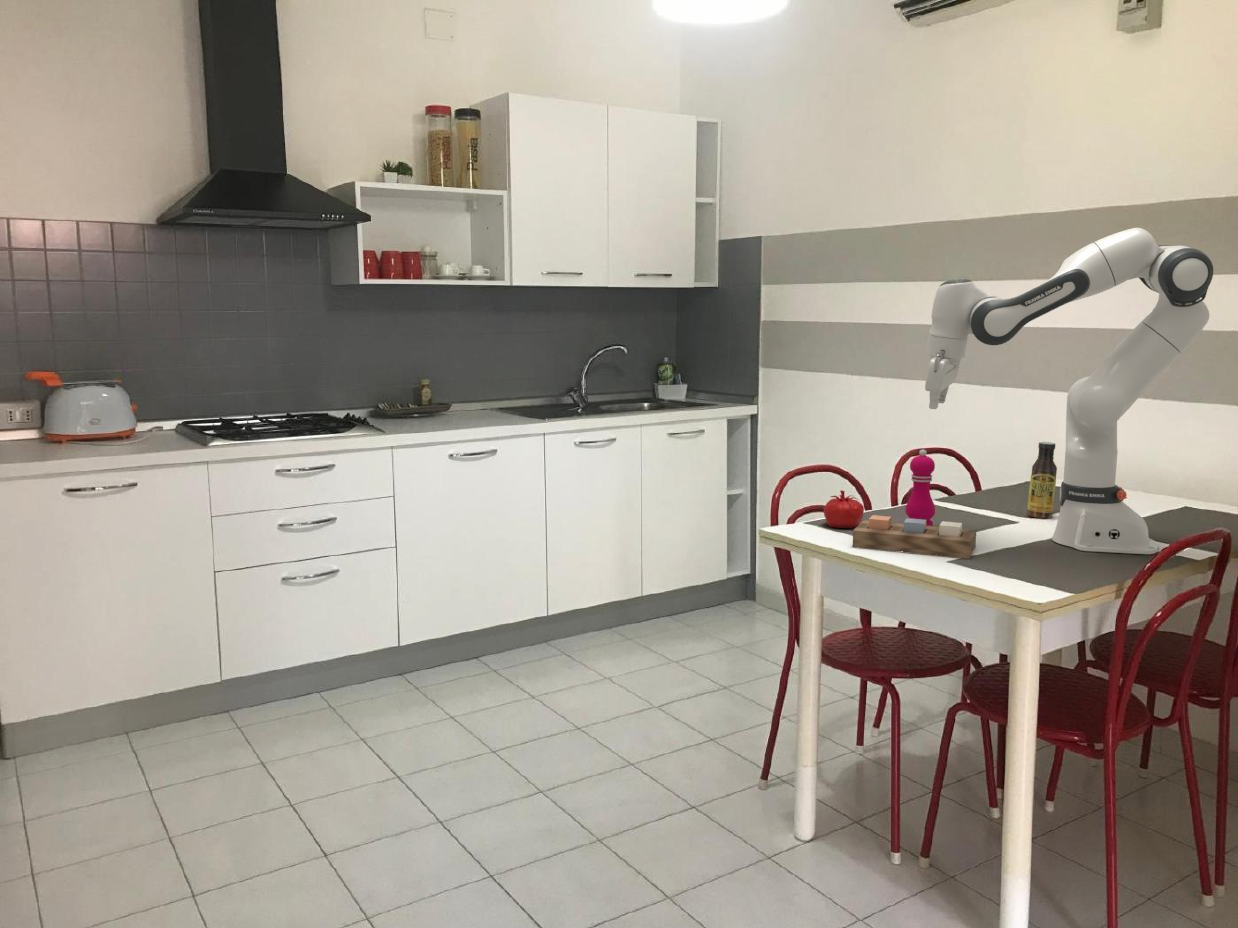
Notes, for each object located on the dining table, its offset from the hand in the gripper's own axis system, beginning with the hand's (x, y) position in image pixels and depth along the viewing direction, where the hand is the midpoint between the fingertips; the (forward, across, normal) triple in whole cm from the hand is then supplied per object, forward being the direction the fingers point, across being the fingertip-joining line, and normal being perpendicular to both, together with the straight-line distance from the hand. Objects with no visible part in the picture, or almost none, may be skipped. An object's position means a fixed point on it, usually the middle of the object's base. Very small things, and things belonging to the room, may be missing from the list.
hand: (936, 405), depth 240 cm
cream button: (+28, -15, -10) cm, 33 cm away
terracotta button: (+29, -15, +6) cm, 34 cm away
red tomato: (+34, -1, +18) cm, 39 cm away
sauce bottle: (+31, +33, -25) cm, 52 cm away
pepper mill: (+33, +6, 0) cm, 33 cm away
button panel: (+31, -15, -2) cm, 35 cm away
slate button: (+28, -15, -2) cm, 32 cm away
